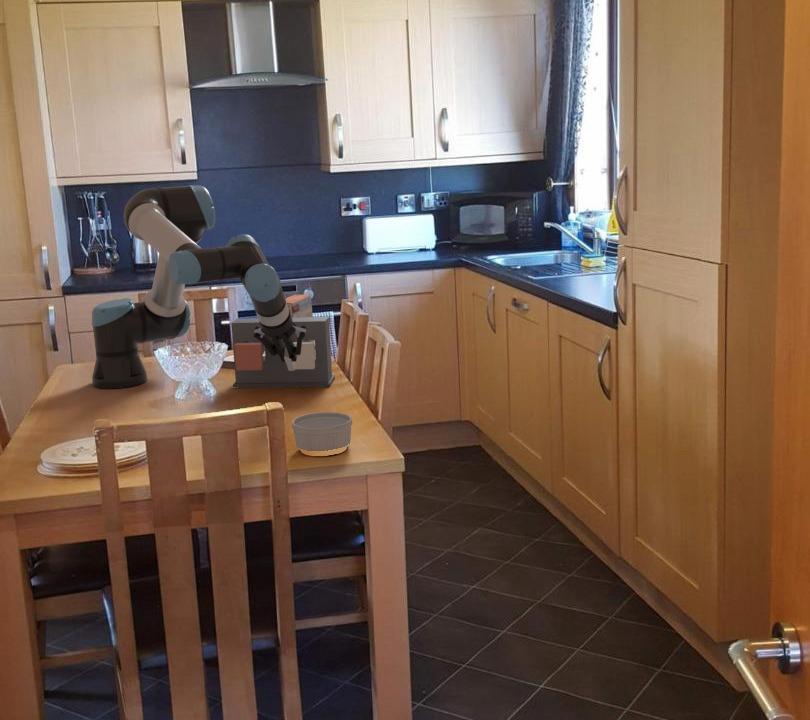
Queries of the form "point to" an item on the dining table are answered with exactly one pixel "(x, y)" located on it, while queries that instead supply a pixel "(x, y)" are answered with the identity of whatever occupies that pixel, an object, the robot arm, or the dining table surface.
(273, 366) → the box
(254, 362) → the brick button
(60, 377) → the dining table surface
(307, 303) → the cracker box
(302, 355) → the cream button
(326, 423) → the ramekin
